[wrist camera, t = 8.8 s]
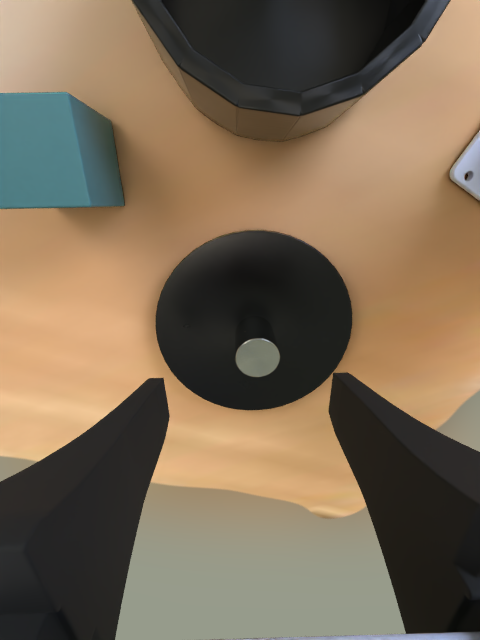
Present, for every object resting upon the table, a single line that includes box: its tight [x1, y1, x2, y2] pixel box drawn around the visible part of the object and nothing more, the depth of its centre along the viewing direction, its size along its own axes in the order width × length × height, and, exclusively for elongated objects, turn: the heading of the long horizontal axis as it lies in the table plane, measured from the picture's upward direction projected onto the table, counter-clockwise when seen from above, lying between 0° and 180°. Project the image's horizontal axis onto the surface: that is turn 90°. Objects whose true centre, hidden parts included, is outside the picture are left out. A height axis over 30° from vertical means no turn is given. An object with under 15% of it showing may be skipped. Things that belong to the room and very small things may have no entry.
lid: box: [156, 230, 352, 410], centre depth 18 cm, size 14×14×5 cm
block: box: [0, 92, 125, 209], centre depth 14 cm, size 4×4×4 cm
